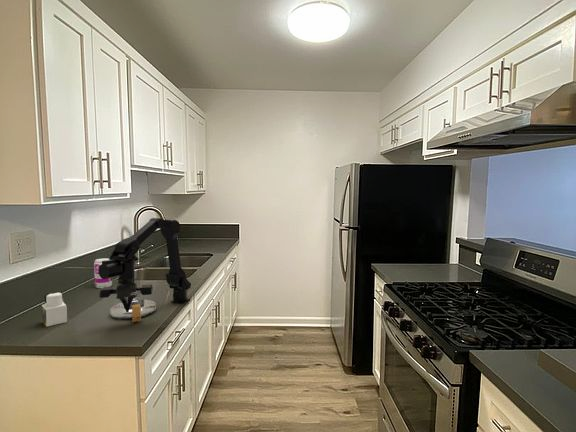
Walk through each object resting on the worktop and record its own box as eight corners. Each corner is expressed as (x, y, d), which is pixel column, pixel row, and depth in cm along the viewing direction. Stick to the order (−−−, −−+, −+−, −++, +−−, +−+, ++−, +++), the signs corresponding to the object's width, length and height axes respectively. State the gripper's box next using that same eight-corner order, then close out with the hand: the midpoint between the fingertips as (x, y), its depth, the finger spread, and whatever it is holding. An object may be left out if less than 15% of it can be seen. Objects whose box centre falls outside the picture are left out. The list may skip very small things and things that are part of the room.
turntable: (109, 307, 155) (109, 294, 154) (152, 301, 163) (152, 289, 163) (111, 325, 135) (111, 310, 134) (160, 317, 143) (160, 303, 143)
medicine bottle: (42, 322, 140) (40, 292, 139) (63, 317, 145) (61, 289, 144) (46, 327, 135) (44, 296, 134) (67, 322, 140) (66, 292, 139)
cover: (128, 303, 155) (127, 295, 154) (146, 303, 155) (146, 295, 155) (120, 309, 147) (120, 301, 146) (140, 309, 147) (140, 301, 147)
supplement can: (104, 289, 186) (103, 261, 185) (91, 288, 188) (90, 260, 187) (115, 285, 194) (114, 258, 193) (102, 284, 196) (101, 257, 195)
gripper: (94, 280, 128) (96, 321, 129) (149, 277, 132) (150, 317, 134) (102, 272, 138) (103, 311, 140) (152, 270, 143) (153, 307, 144)
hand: (127, 311), depth 139 cm, fingers closed
